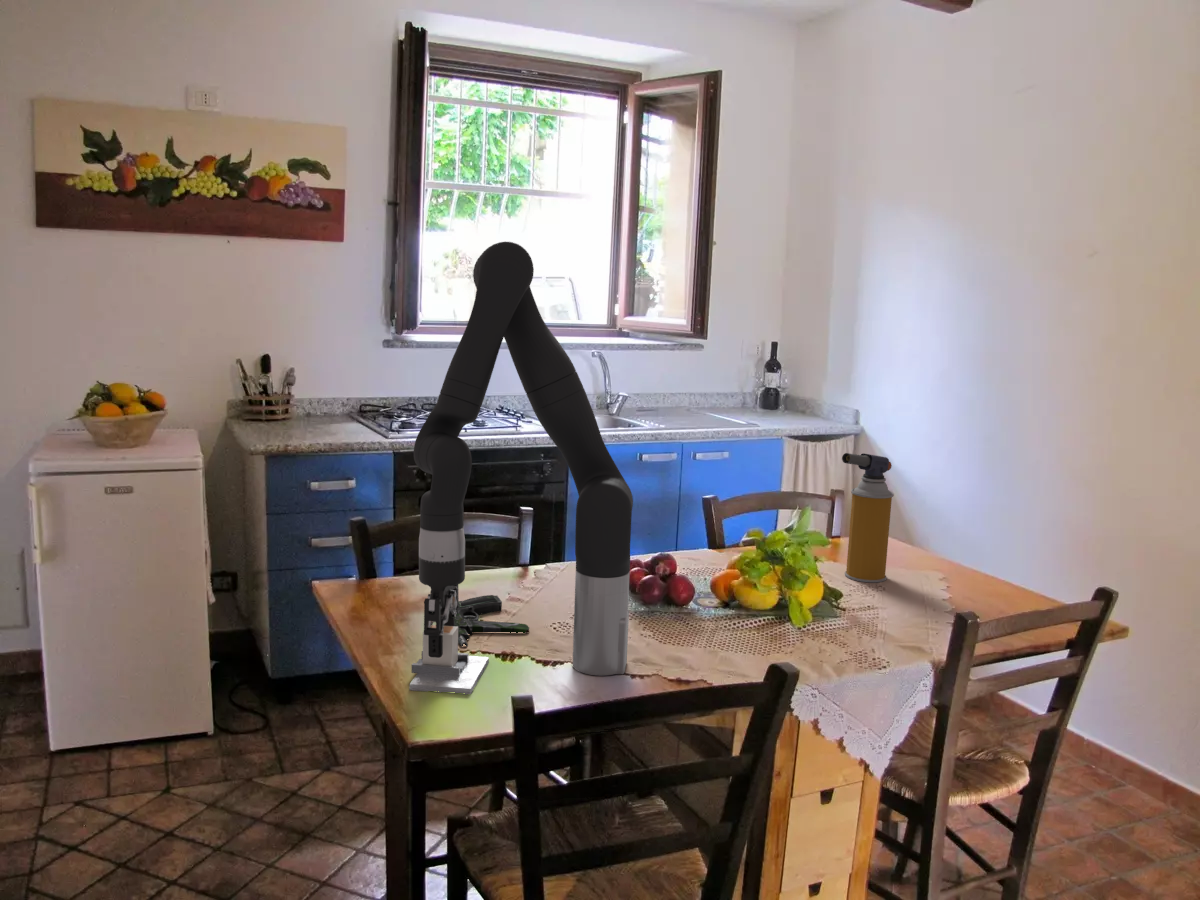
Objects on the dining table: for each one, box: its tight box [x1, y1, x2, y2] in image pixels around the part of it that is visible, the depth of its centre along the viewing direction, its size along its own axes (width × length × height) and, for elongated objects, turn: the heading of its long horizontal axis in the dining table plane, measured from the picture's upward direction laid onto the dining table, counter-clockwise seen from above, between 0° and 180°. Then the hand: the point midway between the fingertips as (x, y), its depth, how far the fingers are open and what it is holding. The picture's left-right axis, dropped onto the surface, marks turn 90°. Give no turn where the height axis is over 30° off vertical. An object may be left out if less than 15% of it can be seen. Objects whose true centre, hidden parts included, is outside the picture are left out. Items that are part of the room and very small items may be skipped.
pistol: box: [453, 594, 530, 647], centre depth 198 cm, size 3×22×15 cm
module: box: [422, 624, 459, 666], centre depth 173 cm, size 5×4×6 cm
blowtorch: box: [841, 452, 895, 584], centre depth 235 cm, size 9×16×30 cm, turn 129°
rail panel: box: [409, 650, 490, 695], centre depth 173 cm, size 11×14×2 cm
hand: (441, 647), depth 173 cm, fingers open, 8 cm apart
